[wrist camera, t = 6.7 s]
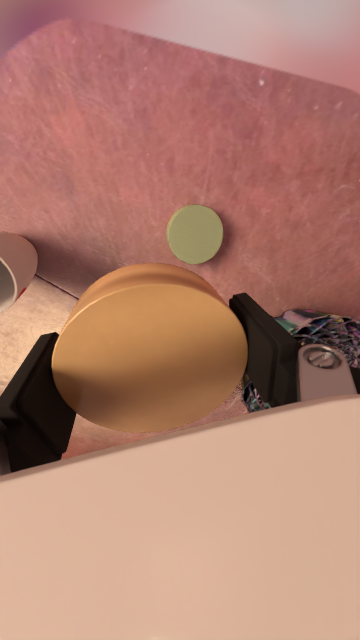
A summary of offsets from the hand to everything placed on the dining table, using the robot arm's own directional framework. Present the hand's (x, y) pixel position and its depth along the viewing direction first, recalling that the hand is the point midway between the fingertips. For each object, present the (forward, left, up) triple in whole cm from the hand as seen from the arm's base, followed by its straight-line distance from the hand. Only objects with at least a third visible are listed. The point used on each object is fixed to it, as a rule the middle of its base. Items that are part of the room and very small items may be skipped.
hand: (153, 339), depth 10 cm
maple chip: (0, 0, 0) cm, 0 cm away
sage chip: (0, +7, -24) cm, 25 cm away
